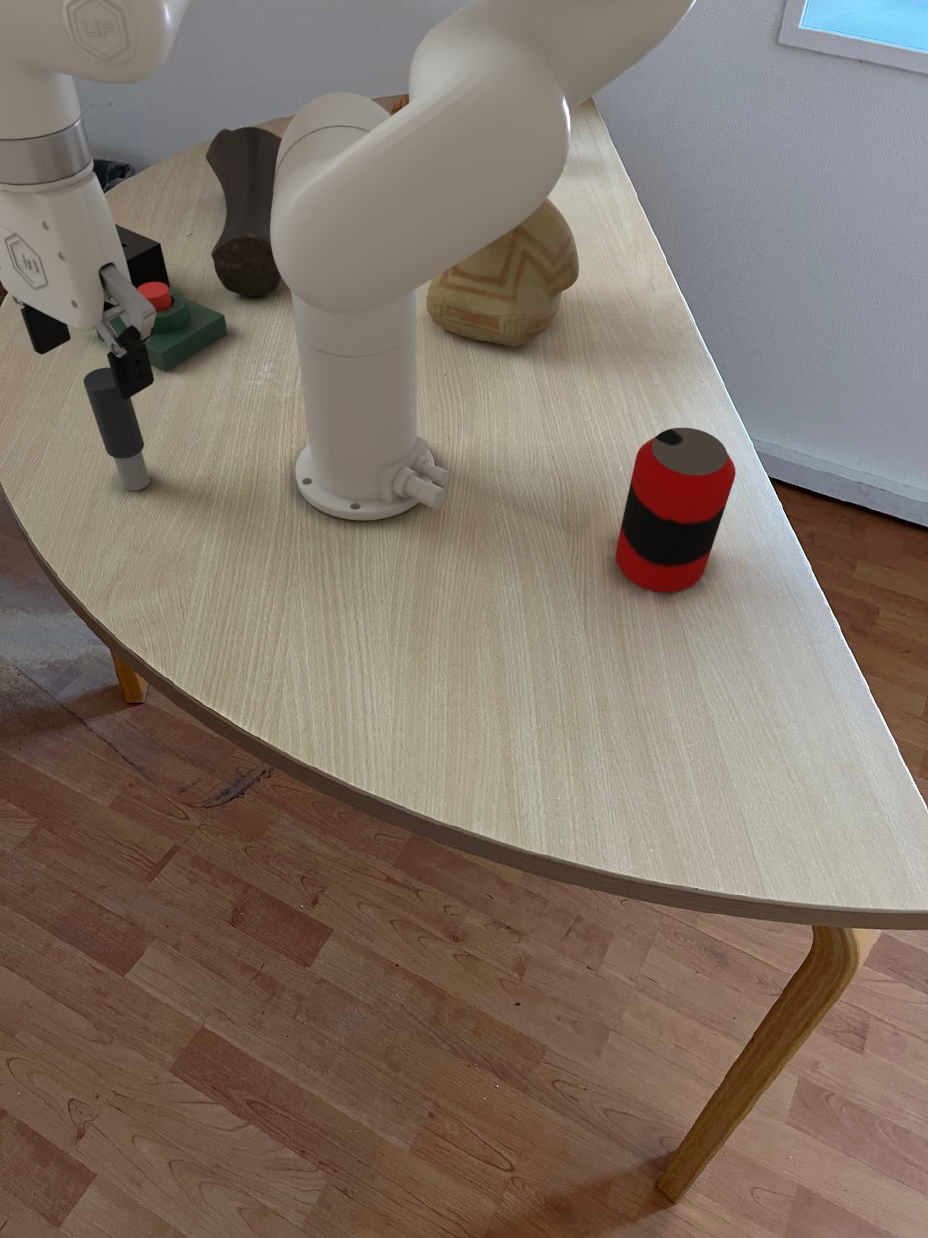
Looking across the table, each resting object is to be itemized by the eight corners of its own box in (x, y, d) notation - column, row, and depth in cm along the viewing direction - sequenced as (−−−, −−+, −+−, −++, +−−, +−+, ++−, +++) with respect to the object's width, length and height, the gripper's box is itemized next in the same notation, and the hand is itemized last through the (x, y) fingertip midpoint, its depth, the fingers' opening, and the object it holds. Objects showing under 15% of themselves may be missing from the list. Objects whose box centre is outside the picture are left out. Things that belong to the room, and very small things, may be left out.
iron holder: (172, 293, 104) (160, 242, 100) (110, 328, 99) (94, 276, 95) (117, 269, 108) (103, 218, 103) (54, 301, 103) (37, 250, 98)
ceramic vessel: (390, 340, 99) (381, 87, 81) (466, 259, 111) (474, 22, 92) (536, 383, 95) (563, 126, 76) (600, 294, 107) (636, 52, 88)
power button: (178, 303, 96) (175, 287, 95) (155, 316, 95) (151, 301, 93) (156, 293, 98) (153, 278, 96) (133, 306, 96) (129, 290, 94)
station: (227, 333, 100) (221, 299, 96) (165, 371, 95) (156, 337, 92) (162, 302, 103) (154, 269, 100) (98, 338, 98) (88, 304, 95)
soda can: (654, 519, 82) (682, 407, 73) (722, 566, 79) (760, 455, 69) (596, 558, 79) (618, 446, 70) (664, 609, 75) (696, 498, 66)
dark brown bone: (242, 201, 124) (245, 338, 108) (190, 133, 116) (186, 271, 100) (311, 160, 121) (324, 296, 105) (262, 88, 112) (269, 224, 97)
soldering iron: (161, 479, 84) (132, 376, 75) (135, 498, 82) (101, 394, 74) (137, 466, 85) (105, 362, 77) (110, 484, 83) (74, 380, 75)
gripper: (-102, 127, 62) (-15, 350, 75) (71, 205, 56) (133, 432, 69) (-7, 95, 66) (60, 311, 79) (164, 165, 61) (206, 386, 73)
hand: (94, 367), depth 74 cm, fingers open, 9 cm apart
